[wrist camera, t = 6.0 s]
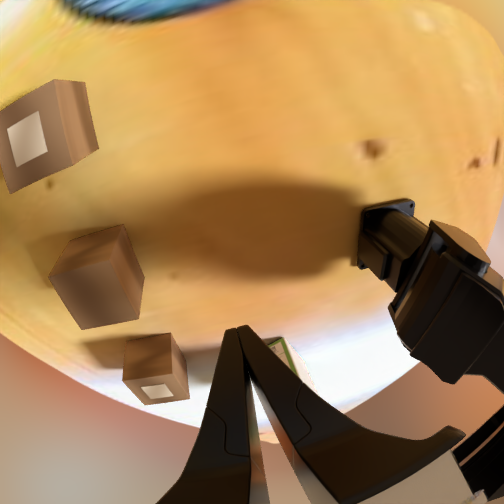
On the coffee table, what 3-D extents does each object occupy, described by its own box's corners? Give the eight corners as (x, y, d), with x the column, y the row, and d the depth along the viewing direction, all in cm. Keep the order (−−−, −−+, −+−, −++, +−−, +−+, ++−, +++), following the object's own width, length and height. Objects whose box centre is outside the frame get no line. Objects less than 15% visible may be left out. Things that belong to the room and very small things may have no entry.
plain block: (123, 223, 19) (109, 259, 15) (144, 276, 22) (139, 319, 17) (70, 240, 18) (48, 277, 14) (94, 288, 21) (81, 329, 17)
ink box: (252, 351, 29) (287, 460, 18) (283, 334, 29) (329, 443, 18) (277, 374, 33) (310, 464, 22) (304, 360, 33) (344, 449, 22)
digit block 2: (170, 332, 25) (172, 374, 21) (185, 360, 28) (190, 399, 24) (125, 340, 25) (121, 381, 21) (144, 368, 28) (143, 406, 23)
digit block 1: (85, 82, 13) (53, 79, 9) (99, 148, 16) (72, 165, 11) (27, 110, 12) (-12, 119, 8) (42, 171, 15) (8, 195, 11)
